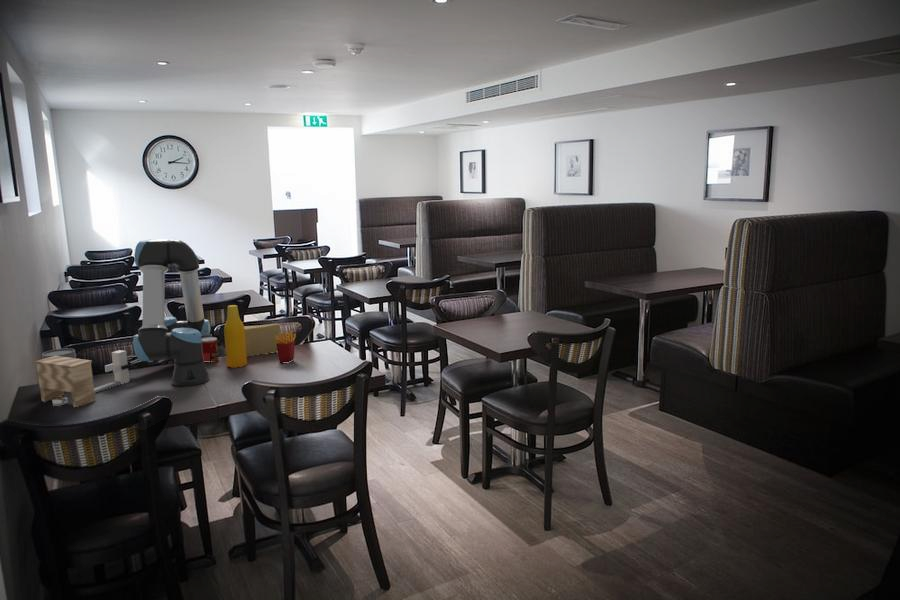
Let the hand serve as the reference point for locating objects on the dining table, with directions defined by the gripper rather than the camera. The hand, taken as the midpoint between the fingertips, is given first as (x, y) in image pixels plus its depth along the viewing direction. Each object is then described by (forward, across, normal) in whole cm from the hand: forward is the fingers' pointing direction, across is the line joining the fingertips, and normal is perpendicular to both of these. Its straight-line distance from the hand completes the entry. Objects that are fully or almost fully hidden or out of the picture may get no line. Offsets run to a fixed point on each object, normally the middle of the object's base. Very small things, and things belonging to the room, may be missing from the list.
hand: (109, 369), depth 259 cm
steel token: (+23, 0, -8) cm, 24 cm away
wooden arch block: (+3, 0, -7) cm, 8 cm away
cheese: (-64, -27, -8) cm, 70 cm away
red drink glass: (-45, -12, -8) cm, 48 cm away
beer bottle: (-43, -30, -8) cm, 53 cm away
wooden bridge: (+20, 0, -8) cm, 21 cm away
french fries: (-57, -48, -8) cm, 75 cm away
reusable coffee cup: (+7, +21, -8) cm, 23 cm away
